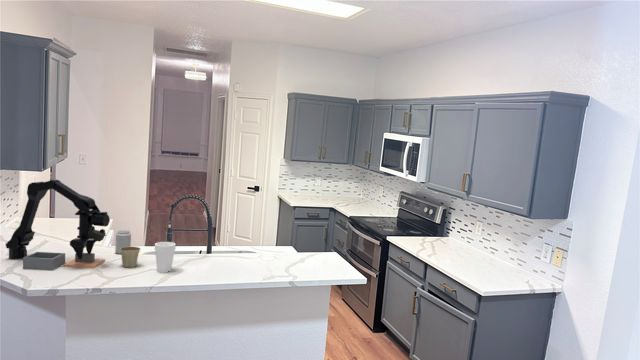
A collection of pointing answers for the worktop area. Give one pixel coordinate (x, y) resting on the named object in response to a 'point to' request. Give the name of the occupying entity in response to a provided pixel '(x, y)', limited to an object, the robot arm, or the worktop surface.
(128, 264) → the flower pot
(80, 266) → the lid
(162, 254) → the foam cup
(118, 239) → the can
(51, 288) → the worktop surface
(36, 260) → the storage box
